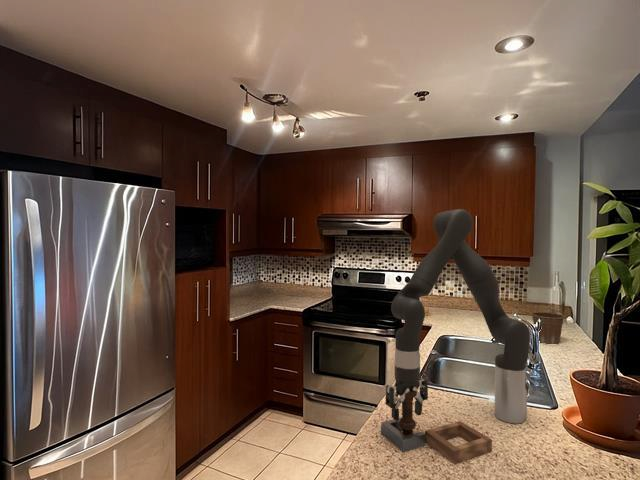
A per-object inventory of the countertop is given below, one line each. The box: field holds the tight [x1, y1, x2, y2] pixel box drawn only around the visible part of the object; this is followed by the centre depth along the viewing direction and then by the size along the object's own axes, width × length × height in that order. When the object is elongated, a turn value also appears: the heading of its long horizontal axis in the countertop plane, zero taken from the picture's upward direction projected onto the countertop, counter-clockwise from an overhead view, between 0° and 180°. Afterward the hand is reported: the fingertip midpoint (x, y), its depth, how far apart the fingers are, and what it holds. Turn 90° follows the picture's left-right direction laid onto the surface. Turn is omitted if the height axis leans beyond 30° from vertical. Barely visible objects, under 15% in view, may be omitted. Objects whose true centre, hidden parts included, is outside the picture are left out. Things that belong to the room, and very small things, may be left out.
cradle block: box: [380, 416, 427, 453], centre depth 117 cm, size 8×11×4 cm
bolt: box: [399, 390, 417, 436], centre depth 118 cm, size 6×5×15 cm
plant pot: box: [531, 311, 566, 345], centre depth 220 cm, size 16×16×16 cm
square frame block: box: [424, 420, 493, 465], centre depth 113 cm, size 14×12×4 cm
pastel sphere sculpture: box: [424, 306, 432, 317], centre depth 290 cm, size 25×24×9 cm
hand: (406, 417), depth 118 cm, fingers open, 8 cm apart
